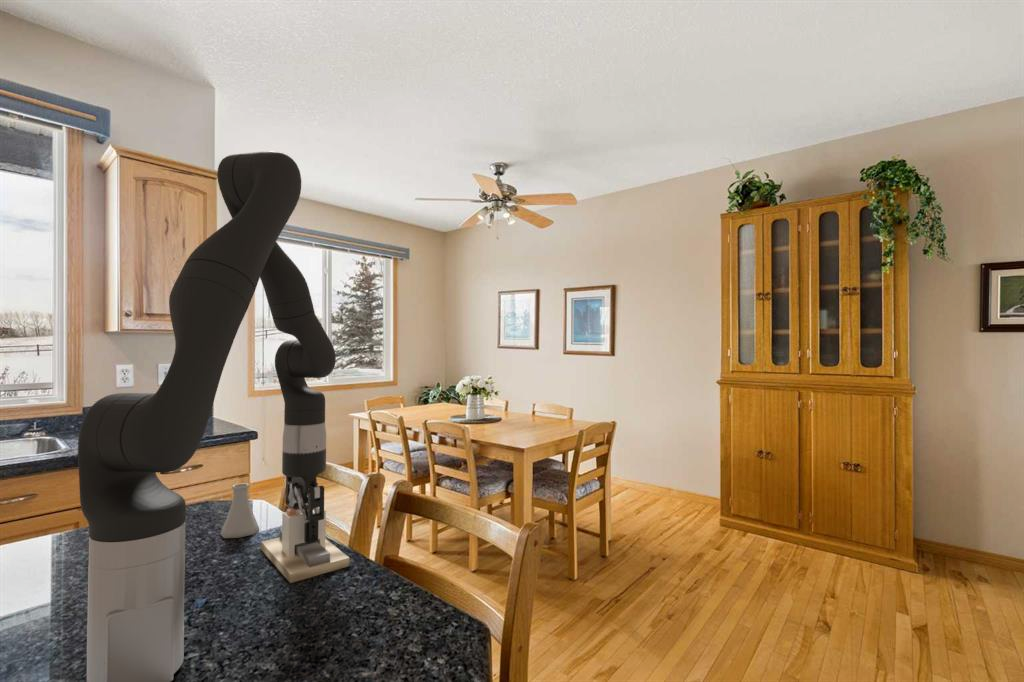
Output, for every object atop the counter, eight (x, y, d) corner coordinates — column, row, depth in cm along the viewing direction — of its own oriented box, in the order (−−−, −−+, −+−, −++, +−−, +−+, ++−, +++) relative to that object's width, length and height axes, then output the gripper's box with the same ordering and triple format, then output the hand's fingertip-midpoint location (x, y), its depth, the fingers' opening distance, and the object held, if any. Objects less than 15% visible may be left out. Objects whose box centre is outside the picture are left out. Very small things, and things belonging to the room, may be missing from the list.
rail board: (349, 566, 88) (349, 549, 88) (290, 583, 82) (290, 564, 82) (313, 536, 102) (313, 522, 102) (260, 549, 96) (261, 533, 96)
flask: (221, 530, 106) (222, 482, 106) (259, 525, 109) (260, 479, 109) (218, 542, 99) (218, 491, 99) (258, 536, 102) (259, 487, 102)
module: (325, 548, 92) (325, 506, 93) (288, 557, 88) (289, 513, 88) (317, 541, 96) (318, 501, 96) (281, 550, 91) (282, 508, 91)
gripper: (339, 450, 89) (338, 542, 89) (311, 439, 100) (310, 521, 100) (296, 456, 84) (294, 553, 84) (271, 444, 95) (270, 530, 95)
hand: (303, 535), depth 92 cm, fingers open, 7 cm apart
